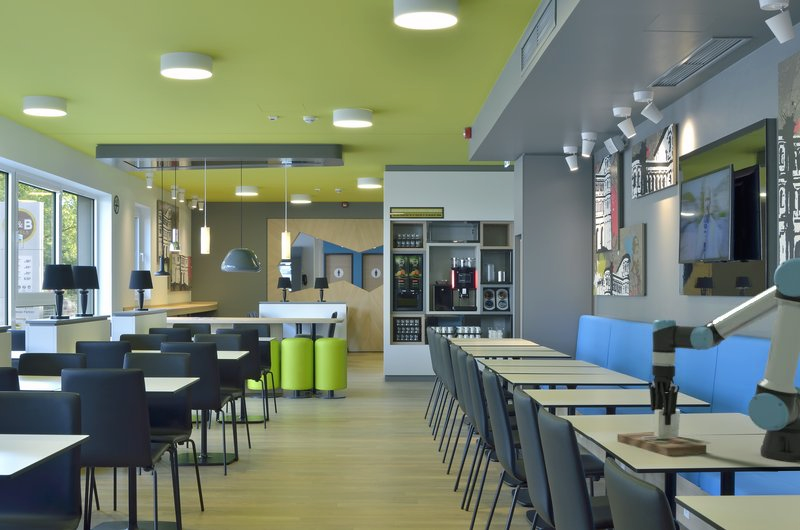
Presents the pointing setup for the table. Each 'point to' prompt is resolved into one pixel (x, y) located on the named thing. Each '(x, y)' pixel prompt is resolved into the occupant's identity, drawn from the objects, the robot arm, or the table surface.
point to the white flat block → (659, 426)
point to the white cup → (675, 423)
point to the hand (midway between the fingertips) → (662, 433)
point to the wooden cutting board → (662, 444)
